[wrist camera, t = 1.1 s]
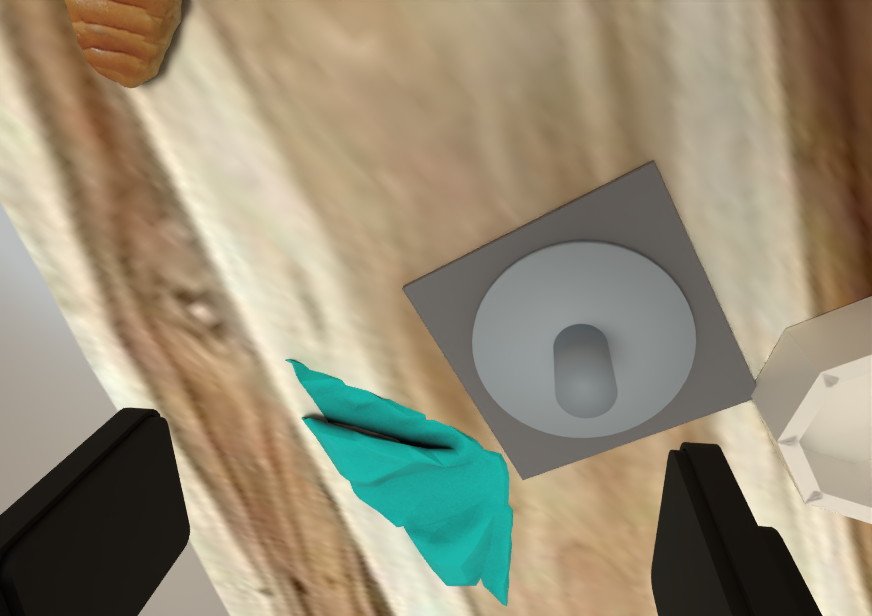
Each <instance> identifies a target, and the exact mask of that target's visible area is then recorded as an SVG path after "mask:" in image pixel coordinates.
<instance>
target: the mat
mask: <svg viewBox="0 0 872 616" xmlns="http://www.w3.org/2000/svg"><path fill="white" fill-rule="evenodd" d="M572 240H596V241H606V242H610V243H614V244H619V245H622V246H625V247H627V248H630V249H633V250H635V251H637V252H639V253H641V254H643V255H645V256H647V257H648V258H650V259H651V260H653V261H654V262H655V263H657V264H658V265H660V266H661V267H662V268H663V269H664V270H665V271H666V272H667V273H668V274H669V275H670V276H671V277H672V279H673V280H674V281H675V282H676V284H677V285H678V286H679V288H680V290H681V292H682V293H683V295H684V297H685V299H686V301H687V302H688V305H689V307H690V310H691V313H692V315H693V320H694V324H695V330H696V348H695V356H694V360H693V364H692V367H691V370H690V372H689V374H688V377H687V379H686V381H685V383H684V384H683V386H682V387H681V389H680V391H679V392H678V393H677V394H676V396H675V397H674V398H673V399H672V401H671V402H670V403H669V404H668V405H666V406H665V407H664V408H663V409H662V410H661V411H660V412H658V413H657V414H656V415H654V416H653V417H652V418H650V419H649V420H647V421H645V422H643V423H641V424H640V425H638V426H635V427H633V428H631V429H628V430H626V431H623V432H619V433H616V434H613V435H607V436H602V437H593V438H571V437H563V436H557V435H553V434H549V433H545V432H542V431H540V430H537V429H534V428H532V427H530V426H528V425H526V424H524V423H522V422H520V421H519V420H517V419H516V418H514V417H512V416H511V415H510V414H508V413H507V412H506V411H505V410H504V409H502V408H501V407H500V406H499V405H498V404H497V402H496V401H495V400H494V399H493V398H492V397H491V395H490V394H489V393H488V391H487V390H486V388H485V387H484V385H483V383H482V381H481V379H480V377H479V375H478V372H477V369H476V366H475V362H474V357H473V349H472V337H473V328H474V323H475V319H476V315H477V311H478V308H479V306H480V303H481V301H482V299H483V297H484V295H485V293H486V292H487V290H488V288H489V287H490V286H491V284H492V283H493V282H494V280H495V279H496V278H497V277H498V276H499V275H500V274H501V273H502V272H503V271H504V270H505V269H506V268H507V267H508V266H510V265H511V264H512V263H514V262H515V261H516V260H518V259H519V258H521V257H523V256H525V255H526V254H528V253H530V252H532V251H535V250H537V249H539V248H542V247H544V246H548V245H552V244H555V243H559V242H565V241H572ZM402 289H403V291H404V292H405V294H406V295H407V297H408V299H409V300H410V302H411V303H412V305H413V306H414V308H415V310H416V311H417V313H418V314H419V316H420V318H421V319H422V321H423V322H424V324H425V326H426V327H427V329H428V330H429V332H430V333H431V335H432V337H433V338H434V340H435V341H436V343H437V345H438V346H439V348H440V349H441V351H442V353H443V354H444V356H445V357H446V359H447V360H448V362H449V364H450V365H451V367H452V368H453V370H454V372H455V373H456V375H457V376H458V378H459V379H460V381H461V383H462V384H463V386H464V387H465V389H466V391H467V392H468V394H469V395H470V397H471V399H472V400H473V402H474V403H475V405H476V406H477V408H478V410H479V411H480V413H481V414H482V416H483V418H484V419H485V421H486V422H487V424H488V426H489V427H490V429H491V430H492V432H493V433H494V435H495V437H496V438H497V440H498V441H499V443H500V445H501V446H502V448H503V449H504V451H505V453H506V454H507V456H508V457H509V459H510V460H511V462H512V464H513V465H514V467H515V468H516V470H517V472H518V473H519V475H520V476H521V478H522V479H523V480H525V479H527V478H530V477H533V476H536V475H539V474H542V473H545V472H547V471H550V470H553V469H556V468H559V467H562V466H564V465H567V464H570V463H573V462H576V461H579V460H582V459H584V458H587V457H590V456H593V455H596V454H599V453H601V452H604V451H607V450H610V449H613V448H616V447H619V446H621V445H624V444H627V443H630V442H633V441H636V440H638V439H641V438H644V437H647V436H650V435H653V434H656V433H658V432H661V431H664V430H667V429H670V428H673V427H675V426H678V425H681V424H684V423H687V422H690V421H693V420H695V419H698V418H701V417H704V416H707V415H710V414H712V413H715V412H718V411H721V410H724V409H727V408H730V407H732V406H735V405H738V404H741V403H744V402H747V401H749V400H752V397H751V395H752V393H753V392H754V390H755V388H756V384H755V382H754V380H753V377H752V375H751V373H750V371H749V369H748V367H747V364H746V362H745V360H744V358H743V356H742V353H741V351H740V349H739V347H738V345H737V342H736V340H735V338H734V336H733V334H732V331H731V329H730V327H729V325H728V323H727V320H726V318H725V316H724V314H723V312H722V310H721V307H720V305H719V303H718V301H717V299H716V296H715V294H714V292H713V290H712V288H711V285H710V283H709V281H708V279H707V277H706V274H705V272H704V270H703V268H702V266H701V264H700V261H699V259H698V257H697V255H696V253H695V250H694V248H693V246H692V244H691V242H690V239H689V237H688V235H687V233H686V231H685V228H684V226H683V224H682V222H681V220H680V217H679V215H678V213H677V211H676V209H675V207H674V204H673V202H672V200H671V198H670V196H669V193H668V191H667V189H666V187H665V185H664V182H663V180H662V178H661V176H660V174H659V171H658V169H657V167H656V165H655V163H654V161H651V162H649V163H647V164H645V165H643V166H641V167H639V168H637V169H635V170H633V171H631V172H629V173H627V174H625V175H623V176H621V177H619V178H617V179H615V180H613V181H611V182H609V183H607V184H605V185H603V186H601V187H599V188H597V189H595V190H593V191H591V192H589V193H587V194H585V195H583V196H581V197H579V198H577V199H575V200H573V201H571V202H569V203H567V204H565V205H563V206H561V207H559V208H557V209H555V210H553V211H552V212H550V213H548V214H546V215H544V216H542V217H540V218H538V219H536V220H534V221H532V222H530V223H528V224H526V225H524V226H522V227H520V228H518V229H516V230H514V231H512V232H510V233H508V234H506V235H504V236H502V237H500V238H498V239H496V240H494V241H492V242H490V243H488V244H486V245H484V246H482V247H480V248H478V249H476V250H474V251H472V252H470V253H468V254H466V255H464V256H462V257H460V258H458V259H456V260H454V261H452V262H450V263H448V264H446V265H444V266H442V267H440V268H438V269H436V270H434V271H432V272H430V273H428V274H426V275H424V276H423V277H421V278H419V279H417V280H415V281H413V282H411V283H409V284H407V285H405V286H403V288H402Z"/></svg>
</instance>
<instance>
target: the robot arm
mask: <svg viewBox="0 0 872 616" xmlns="http://www.w3.org/2000/svg"><path fill="white" fill-rule="evenodd" d="M189 535H190V525H189V520H188V515H187V511H186V506H185V501H184V497H183V492H182V487H181V483H180V478H179V473H178V469H177V464H176V459H175V454H174V450H173V445H172V440H171V436H170V431H169V426H168V423H167V421H166V419H165V418H163V417H161V416H160V414H159V413H158V411H156V410H154V409H143V408H123V409H122V410H120V411H119V412H118V413H116V414H115V415H114V416H113V417H112V418H111V419H110V420H108V421H107V422H106V423H105V424H104V425H103V426H102V427H101V428H99V429H98V430H97V431H96V432H95V433H94V434H92V436H90V437H89V438H88V439H87V440H86V441H84V442H83V443H82V444H81V445H80V446H79V447H78V448H76V449H75V450H74V451H73V452H72V453H71V454H70V455H68V456H67V457H66V458H65V459H64V460H63V461H62V462H60V463H59V464H58V465H57V466H56V467H55V468H54V469H52V470H51V471H50V472H49V473H48V474H47V475H46V476H45V477H43V478H42V479H41V480H40V481H39V482H38V483H36V484H35V485H34V486H33V487H32V488H31V489H30V490H28V491H27V492H26V493H25V494H24V495H23V496H22V497H20V498H19V499H18V500H17V501H16V502H15V503H14V504H12V505H11V506H10V507H9V508H8V509H7V510H6V511H5V512H3V513H2V514H1V515H0V616H137V615H138V614H139V613H140V611H141V610H142V609H143V607H144V606H145V604H146V603H147V601H148V600H149V599H150V597H151V595H152V594H153V593H154V591H155V590H156V588H157V587H158V586H159V584H160V583H161V581H162V580H163V578H164V577H165V575H166V574H167V573H168V571H169V570H170V568H171V567H172V565H173V564H174V563H175V561H176V560H177V558H178V557H179V555H180V554H181V552H182V551H183V550H184V548H185V546H186V545H187V542H188V540H189ZM651 582H652V590H653V595H654V599H655V604H656V608H657V612H658V616H822V614H821V612H820V610H819V608H818V606H817V604H816V602H815V600H814V599H813V597H812V595H811V593H810V591H809V589H808V587H807V585H806V583H805V581H804V579H803V577H802V575H801V573H800V572H799V570H798V568H797V566H796V564H795V562H794V560H793V558H792V556H791V554H790V552H789V550H788V548H787V546H786V545H785V543H784V541H783V539H782V537H781V536H780V534H779V533H778V531H777V530H776V529H774V528H773V527H764V526H758V525H757V523H756V521H755V518H754V516H753V514H752V512H751V510H750V508H749V506H748V504H747V502H746V500H745V498H744V496H743V494H742V491H741V489H740V487H739V485H738V483H737V481H736V479H735V477H734V475H733V473H732V471H731V469H730V466H729V464H728V462H727V460H726V458H725V456H724V454H723V452H722V450H721V448H720V447H719V445H717V444H705V443H689V442H683V443H682V444H681V447H680V450H670V452H669V455H668V460H667V467H666V474H665V481H664V487H663V494H662V501H661V507H660V514H659V521H658V528H657V534H656V541H655V548H654V555H653V561H652V569H651Z"/></svg>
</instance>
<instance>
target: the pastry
mask: <svg viewBox="0 0 872 616" xmlns="http://www.w3.org/2000/svg"><path fill="white" fill-rule="evenodd" d="M64 1H65V3H66V5H67V10H68V14H69V19H70V20H71V22H72V26H73V28H74V31H75V33H76V36H77V41H78V44H79V45H80V47H81V48H82V50H83V53H84V55H85V59H86V61H87V62H88V63H89V64H90V65H91V66H92V67H93V68H94V69H95V70H96V71H97V72H98V73H100V74H101V75H103V76H105V77H107V78H108V79H111V80H113V81H115V82H118V83H119V84H120V85H122V86H124V87H128V88H134V87H137V86H139V85H141V84H143V83H144V82H146V81H148V80H149V79H151V78H153V77H154V76H156V75H157V74H158V71H159V68H160V65H161V63H162V61H163V59H164V55H165V52H166V50H167V49H168V48H169V46H170V44H171V40H172V37H173V34H174V32H175V30H176V28H177V27H178V25H179V24H180V22H181V20H182V13H181V5H182V0H64Z"/></svg>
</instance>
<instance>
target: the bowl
mask: <svg viewBox="0 0 872 616" xmlns="http://www.w3.org/2000/svg"><path fill="white" fill-rule="evenodd" d="M755 384H756V388H755V390H754V392H753V393H752V395H751V397H752V400H753V402H754V404H755V406H756V408H757V411H758V413H759V415H760V417H761V419H762V421H763V424H764V426H765V428H766V430H767V432H768V434H769V436H770V439H771V441H772V443H773V445H774V447H775V450H776V452H777V454H778V455H779V457H780V459H781V461H782V463H783V465H784V466H785V468H786V470H787V472H788V474H789V476H790V477H791V479H792V481H793V483H794V485H795V487H796V488H797V490H798V492H799V494H800V496H801V498H802V499H803V501H804V503H805V504H808V505H812V506H815V507H818V508H822V509H825V510H828V511H831V512H835V513H838V514H841V515H844V516H848V517H851V518H854V519H858V520H861V521H864V522H867V523H871V524H872V296H870V297H868V298H865V299H862V300H860V301H857V302H854V303H852V304H849V305H847V306H844V307H841V308H839V309H836V310H834V311H831V312H828V313H826V314H823V315H820V316H818V317H815V318H813V319H810V320H807V321H805V322H802V323H800V324H797V325H794V326H792V327H789V328H786V329H785V331H784V333H783V334H782V336H781V338H780V340H779V341H778V343H777V345H776V347H775V348H774V350H773V352H772V353H771V355H770V357H769V359H768V360H767V362H766V364H765V366H764V367H763V369H762V371H761V372H760V374H759V376H758V378H757V379H756V381H755Z"/></svg>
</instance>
